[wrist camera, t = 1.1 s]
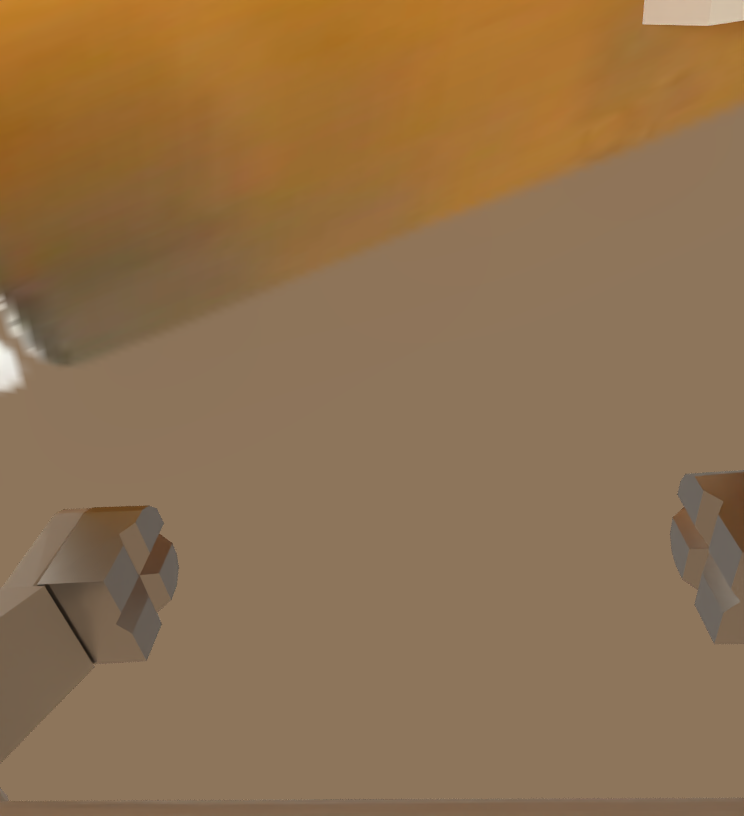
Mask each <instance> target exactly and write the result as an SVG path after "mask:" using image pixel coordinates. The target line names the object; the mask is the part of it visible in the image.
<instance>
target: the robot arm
mask: <svg viewBox="0 0 744 816" xmlns="http://www.w3.org/2000/svg"><path fill="white" fill-rule="evenodd" d="M677 495H678V497H679V498H680V500H681V502H682V504H683V506H684V508H682V509H681V510H680V511H679V512H678V513H677V514H676V515H675V516H673V519H672V525H671V531H670V539H671V549H672V555H673V558H674V561H675V564H676V567H677V569H678V571H679V573H680V576H681V578H682V579H683V580H684V581H685V582H687V583H688V584H690V585H691V586H693V587H694V588H696V589H697V590H698V592H697V596H696V600H695V606H696V608H697V611H698V613H699V614H700V617H701V619H702V621H703V622H704V624H705V626H706V629H707V631H708V633H709V635H710V636H711V639H712V641H713V643H714V644H744V470H739V471H725V472H708V473H693V474H685V475H684V477H683V478H682V480H681V482H680V486H679V490H678V494H677ZM163 524H164V522H163V521H162V518H161V516H160V514H159V512H158V510H157V508H154V507H151V506H125V507H97V508H96V507H95V508H89V509H88V508H86V509H63V510H61V511H59V512H57V513H56V514H54V515H53V517H52V518H51V520H50V521H49V523H48V524H47V525H46V527H45V528H44V529H43V531H42V532H41V534H40V535H39V536H38V538H37V539H36V541H35V542H34V543H33V545H32V546H31V548H30V549H29V550H28V552H27V553H26V555H25V556H24V557H23V559H22V560H21V562H20V563H19V564H18V566H17V567H16V569H15V570H14V571H13V573H12V574H11V576H10V577H9V579H8V580H7V581H6V583H5V584H4V585H3V587H2V588H0V763H1V762H3V760H5V758H6V757H7V756H8V755H9V754H10V753H11V752H12V751H13V750H14V749H15V748H16V747H17V746H18V745H19V744H20V743H21V742H22V741H23V740H24V739H25V738H26V737H27V736H28V735H29V734H30V733H31V732H32V731H33V730H34V729H35V728H36V727H37V726H38V725H39V724H40V722H41V721H43V720H44V719H45V718H46V716H47V715H48V714H49V713H50V712H51V711H52V710H53V709H54V708H55V707H56V706H57V705H58V704H59V703H60V702H61V701H62V700H63V699H64V698H65V697H66V696H67V695H68V694H69V693H70V692H71V691H72V690H73V689H74V688H75V687H76V686H77V685H78V684H79V683H80V682H81V681H82V680H83V679H84V678H85V676H86V675H87V674H88V673H89V672H90V671H91V670H92V669H93V668H94V665H93V664H106V663H123V662H139V661H147V659H148V656H149V654H150V651H151V649H152V647H153V644H154V642H155V639H156V637H157V634H158V632H159V629H160V627H161V625H162V624H161V621H160V618H159V616H158V613H157V612H158V611H159V610H161V609H162V608H163V607H164V606H165V605H166V604H167V603H169V602H170V601H171V600H172V597H173V594H174V591H175V589H176V586H177V580H178V569H179V565H178V559H177V553H176V551H175V549H174V546H173V544H172V542H170V541H169V540H167V539H166V538H165V537H163V536H162V535H160V534H159V533H160V531H161V528H162V526H163ZM0 816H744V798H582V799H581V798H570V799H569V798H568V799H567V798H565V799H564V798H562V799H560V798H559V799H556V798H554V799H553V798H552V799H333V800H332V799H330V800H327V799H326V800H127V801H126V800H121V801H118V800H117V801H115V800H113V801H112V800H110V801H109V800H108V801H9V800H8V796H7V794H6V793H5V792H4V791H3V790H2V789H1V788H0Z"/></svg>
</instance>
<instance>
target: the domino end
mask: <svg viewBox="0 0 744 816" xmlns="http://www.w3.org/2000/svg"><path fill="white" fill-rule="evenodd" d="M743 20H744V0H645V2H644V13H643V24H654V25H699V26H710V25H717V24H723V23H730V22H736V21H743Z"/></svg>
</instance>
